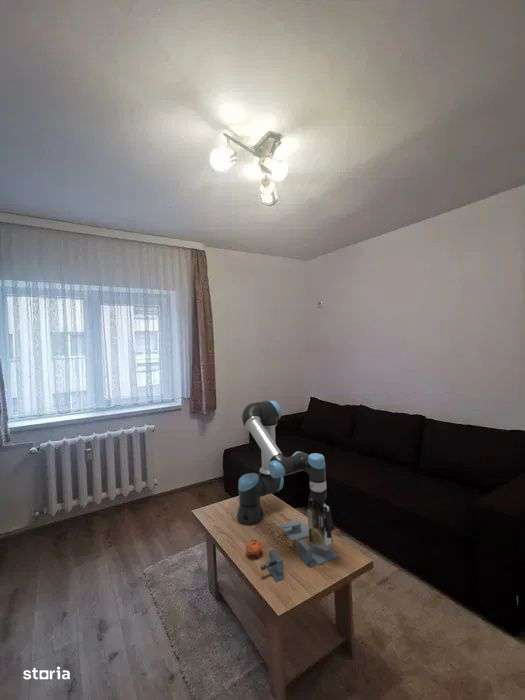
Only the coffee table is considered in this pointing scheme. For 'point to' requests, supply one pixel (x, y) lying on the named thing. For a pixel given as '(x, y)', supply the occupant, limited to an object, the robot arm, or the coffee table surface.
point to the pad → (323, 555)
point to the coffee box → (317, 529)
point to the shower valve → (295, 530)
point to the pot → (254, 547)
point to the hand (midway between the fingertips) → (320, 537)
